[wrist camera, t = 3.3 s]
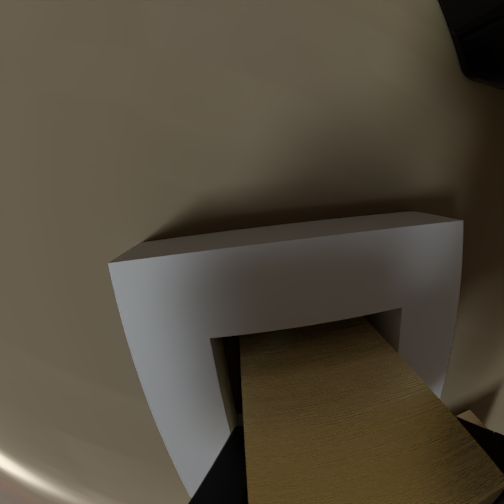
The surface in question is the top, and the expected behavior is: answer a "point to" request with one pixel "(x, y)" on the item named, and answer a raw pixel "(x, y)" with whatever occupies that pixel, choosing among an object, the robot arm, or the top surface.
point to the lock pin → (351, 424)
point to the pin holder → (278, 308)
